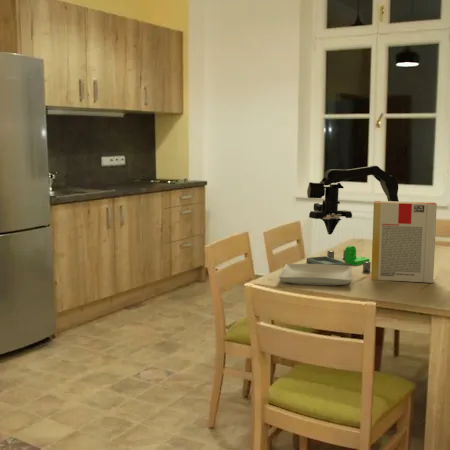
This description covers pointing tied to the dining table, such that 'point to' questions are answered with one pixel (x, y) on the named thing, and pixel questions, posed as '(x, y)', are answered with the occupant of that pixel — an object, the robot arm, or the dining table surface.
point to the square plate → (316, 274)
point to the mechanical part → (353, 256)
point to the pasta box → (403, 241)
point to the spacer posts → (331, 254)
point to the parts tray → (325, 261)
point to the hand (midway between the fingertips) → (329, 234)
